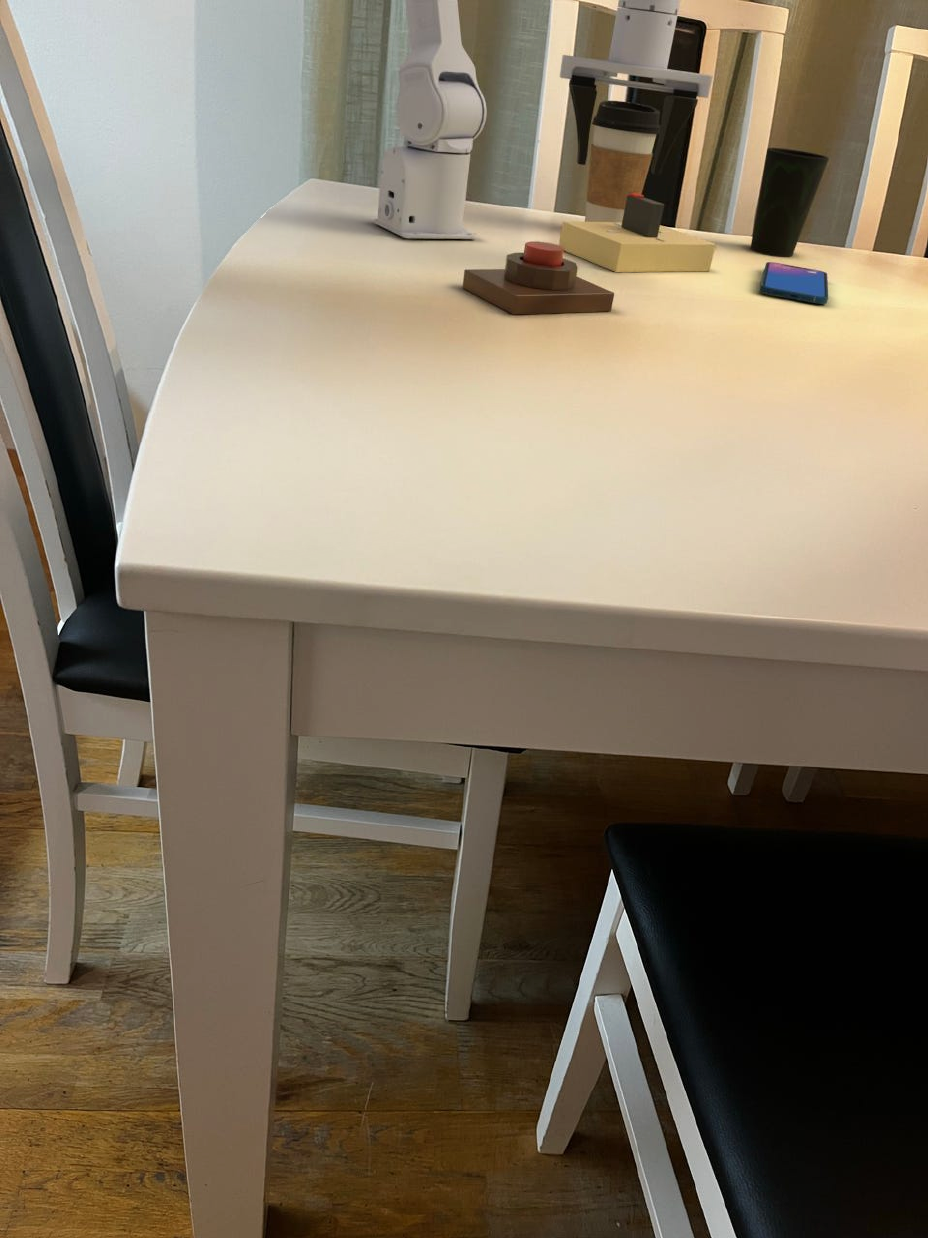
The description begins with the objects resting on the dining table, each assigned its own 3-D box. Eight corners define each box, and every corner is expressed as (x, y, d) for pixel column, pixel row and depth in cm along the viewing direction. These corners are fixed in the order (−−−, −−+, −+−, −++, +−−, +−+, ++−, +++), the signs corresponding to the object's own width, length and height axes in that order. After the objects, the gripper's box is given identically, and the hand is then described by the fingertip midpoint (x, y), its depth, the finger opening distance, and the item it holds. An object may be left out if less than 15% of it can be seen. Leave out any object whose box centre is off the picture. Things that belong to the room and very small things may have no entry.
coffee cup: (636, 233, 129) (662, 106, 121) (640, 245, 121) (667, 111, 114) (574, 224, 129) (595, 97, 121) (574, 235, 122) (596, 101, 114)
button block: (513, 314, 85) (519, 273, 83) (461, 287, 91) (466, 248, 90) (611, 311, 90) (618, 272, 89) (556, 285, 97) (562, 249, 95)
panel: (615, 271, 106) (621, 241, 104) (558, 248, 114) (562, 219, 112) (709, 270, 113) (716, 242, 111) (649, 248, 120) (654, 221, 119)
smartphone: (760, 286, 104) (765, 260, 117) (757, 294, 105) (763, 268, 117) (829, 299, 103) (827, 271, 115) (826, 307, 103) (825, 279, 116)
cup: (804, 253, 131) (832, 156, 125) (796, 261, 125) (825, 159, 118) (747, 242, 133) (772, 146, 127) (737, 249, 127) (762, 149, 121)
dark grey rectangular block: (657, 237, 110) (665, 201, 108) (646, 236, 109) (653, 201, 107) (632, 227, 114) (638, 193, 112) (621, 226, 113) (627, 192, 111)
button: (536, 270, 87) (539, 250, 86) (514, 260, 90) (517, 240, 89) (568, 270, 89) (571, 250, 88) (546, 260, 92) (549, 241, 91)
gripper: (714, 22, 95) (682, 172, 102) (568, 1, 95) (546, 154, 102) (729, 22, 89) (693, 181, 96) (573, 0, 89) (549, 162, 96)
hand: (618, 168), depth 99 cm, fingers open, 7 cm apart
